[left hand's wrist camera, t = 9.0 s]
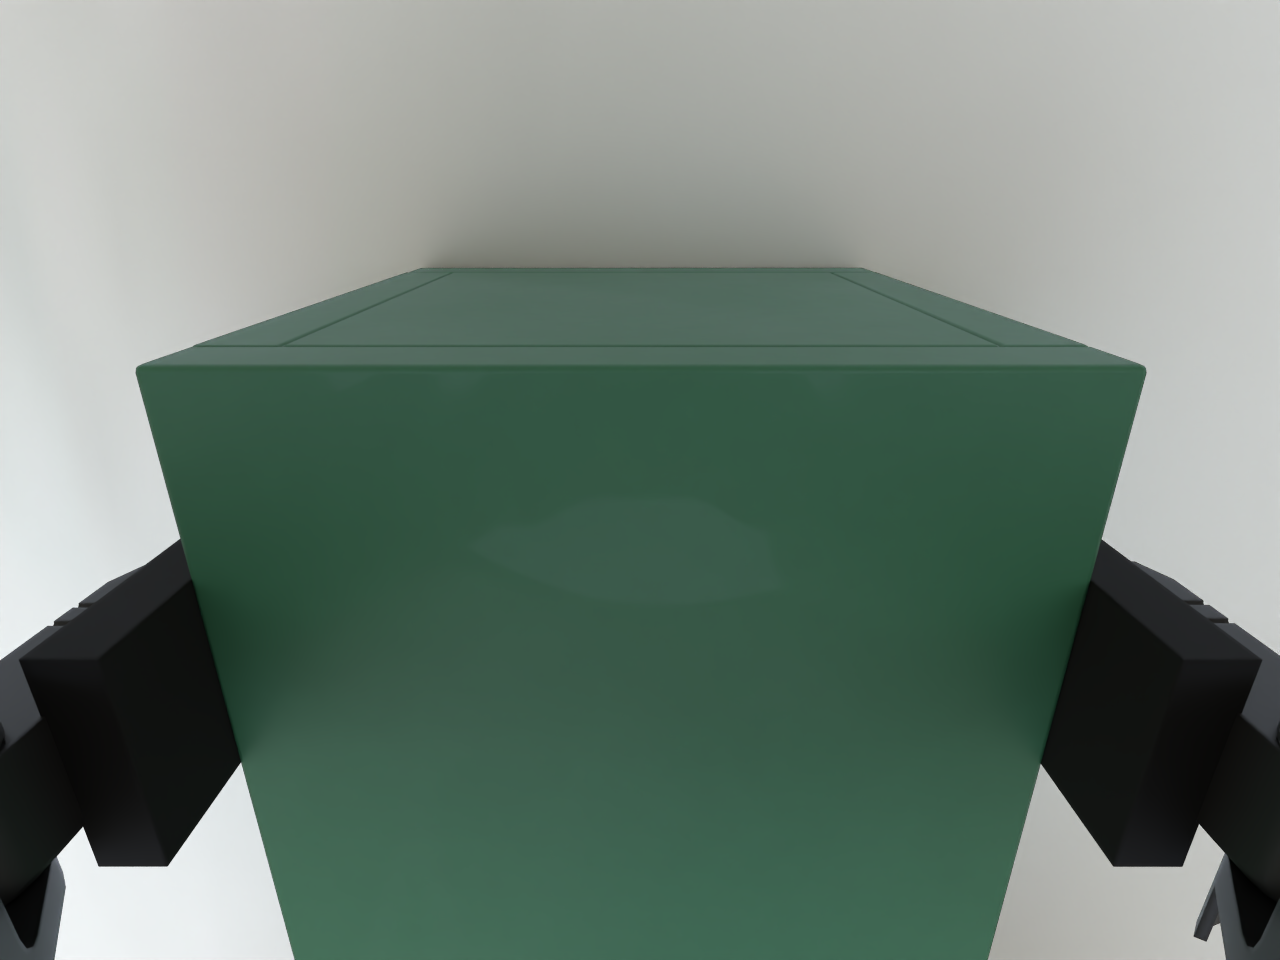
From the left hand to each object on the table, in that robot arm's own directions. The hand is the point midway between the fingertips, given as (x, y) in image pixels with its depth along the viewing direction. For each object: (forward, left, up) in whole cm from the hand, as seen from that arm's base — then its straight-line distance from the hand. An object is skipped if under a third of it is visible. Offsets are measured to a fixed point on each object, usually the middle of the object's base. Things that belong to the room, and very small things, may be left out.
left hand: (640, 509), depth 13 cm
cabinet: (+5, -3, -5) cm, 8 cm away
